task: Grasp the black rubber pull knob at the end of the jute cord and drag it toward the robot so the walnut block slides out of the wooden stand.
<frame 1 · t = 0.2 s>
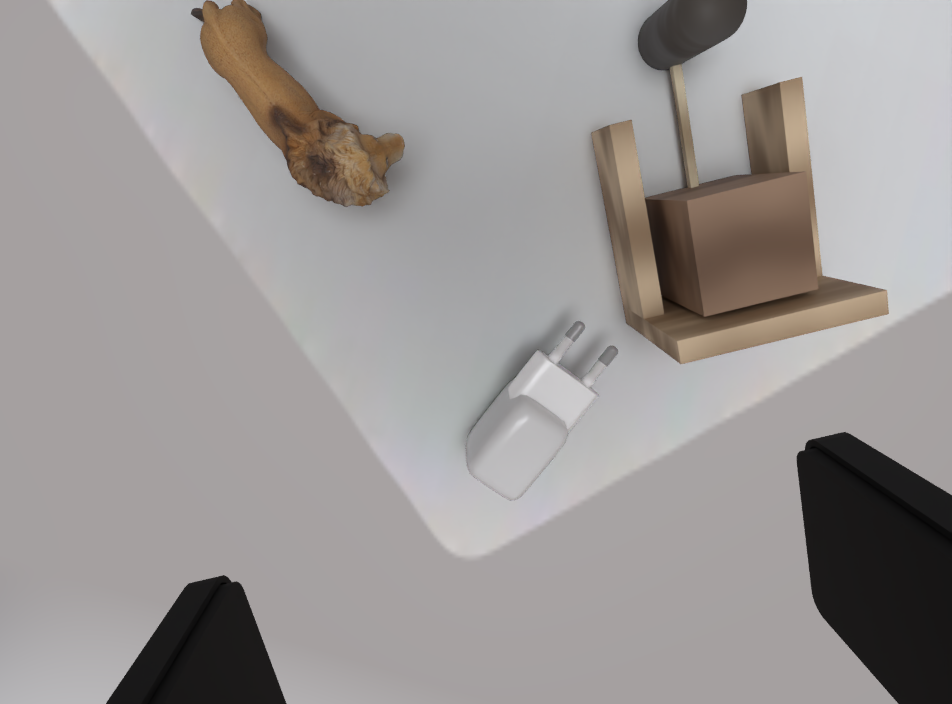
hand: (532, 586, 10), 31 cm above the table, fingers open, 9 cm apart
power adapter: (533, 389, 42), on the table
block: (708, 148, 34), point 4 cm above the table, slide at 0.0 cm
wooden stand: (691, 211, 39), on the table
lion figurine: (311, 110, 37), on the table
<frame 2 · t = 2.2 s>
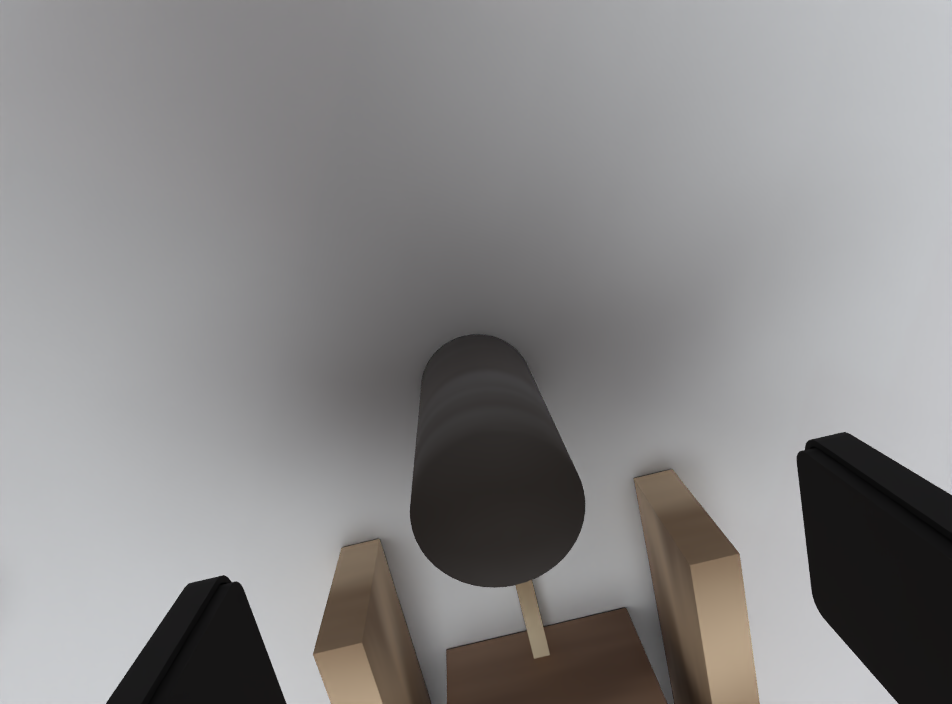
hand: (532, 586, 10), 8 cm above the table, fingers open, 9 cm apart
block: (542, 670, 16), point 4 cm above the table, slide at 0.0 cm
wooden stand: (545, 665, 21), on the table
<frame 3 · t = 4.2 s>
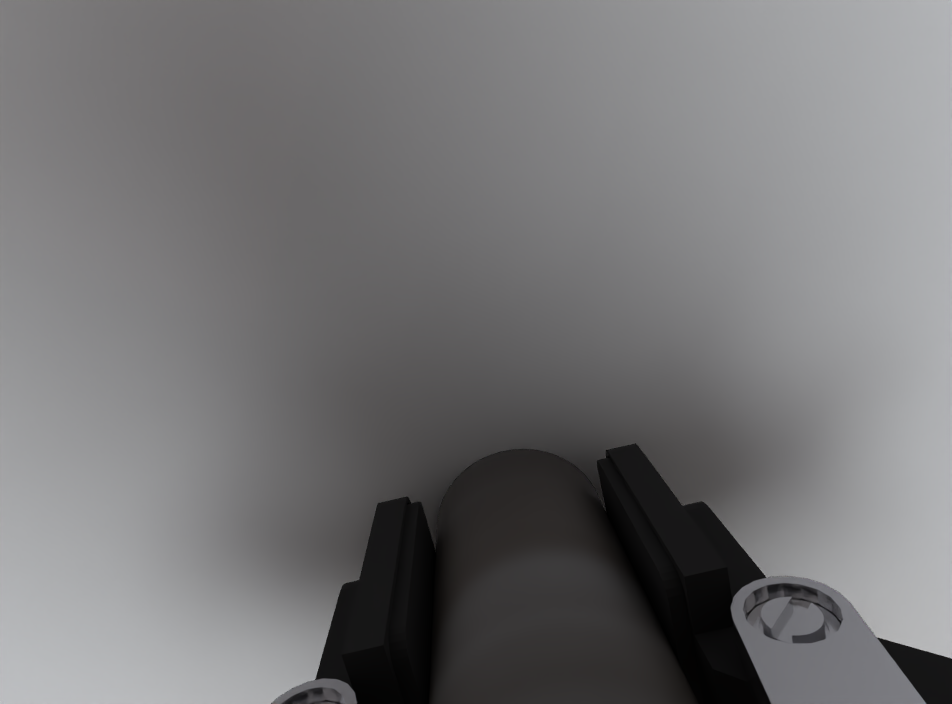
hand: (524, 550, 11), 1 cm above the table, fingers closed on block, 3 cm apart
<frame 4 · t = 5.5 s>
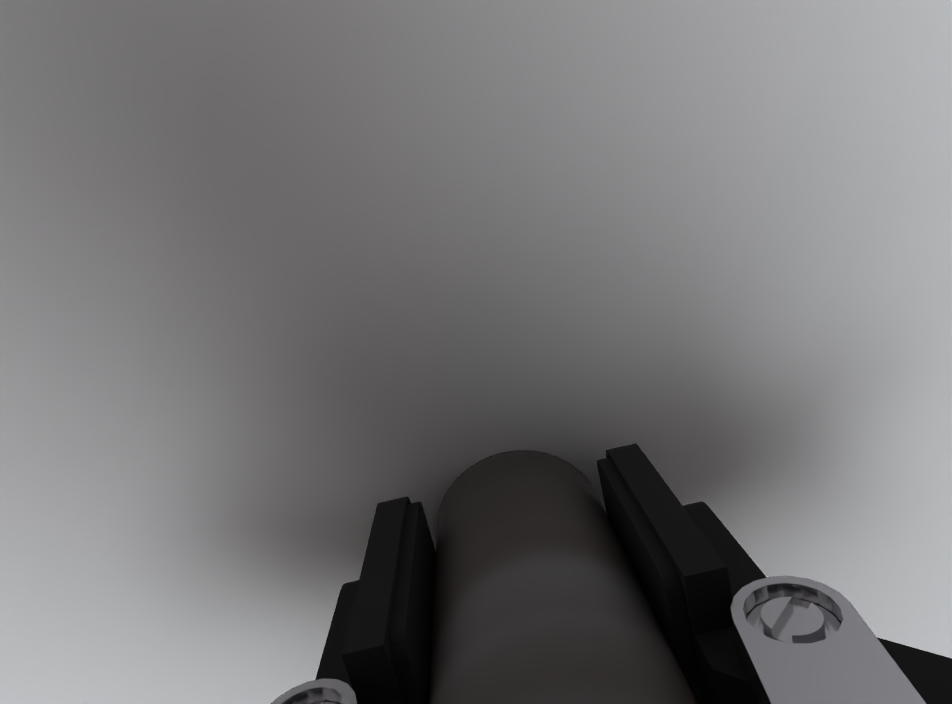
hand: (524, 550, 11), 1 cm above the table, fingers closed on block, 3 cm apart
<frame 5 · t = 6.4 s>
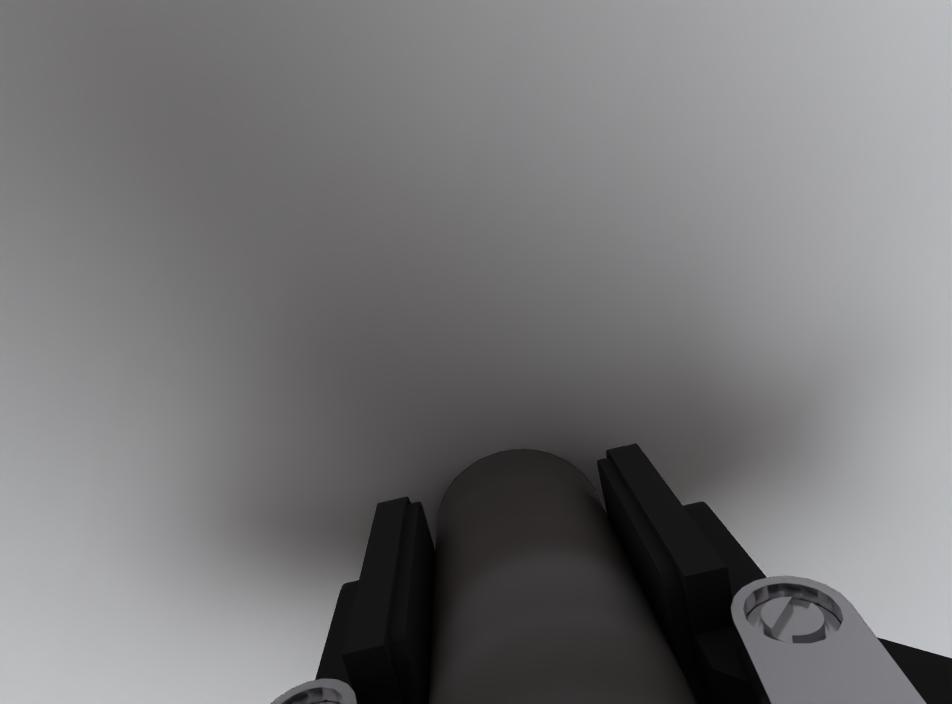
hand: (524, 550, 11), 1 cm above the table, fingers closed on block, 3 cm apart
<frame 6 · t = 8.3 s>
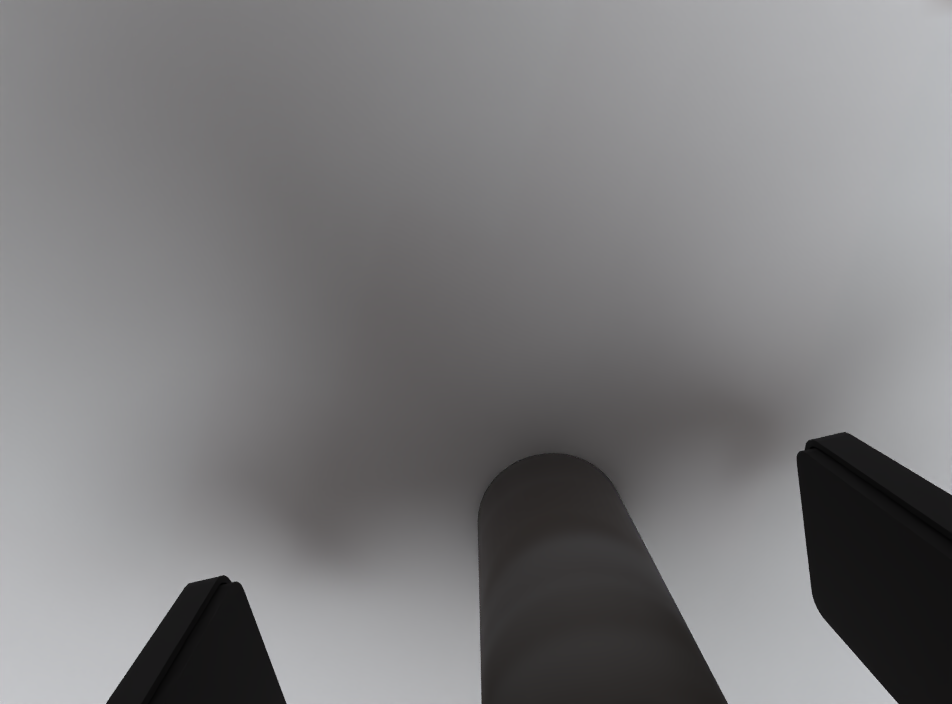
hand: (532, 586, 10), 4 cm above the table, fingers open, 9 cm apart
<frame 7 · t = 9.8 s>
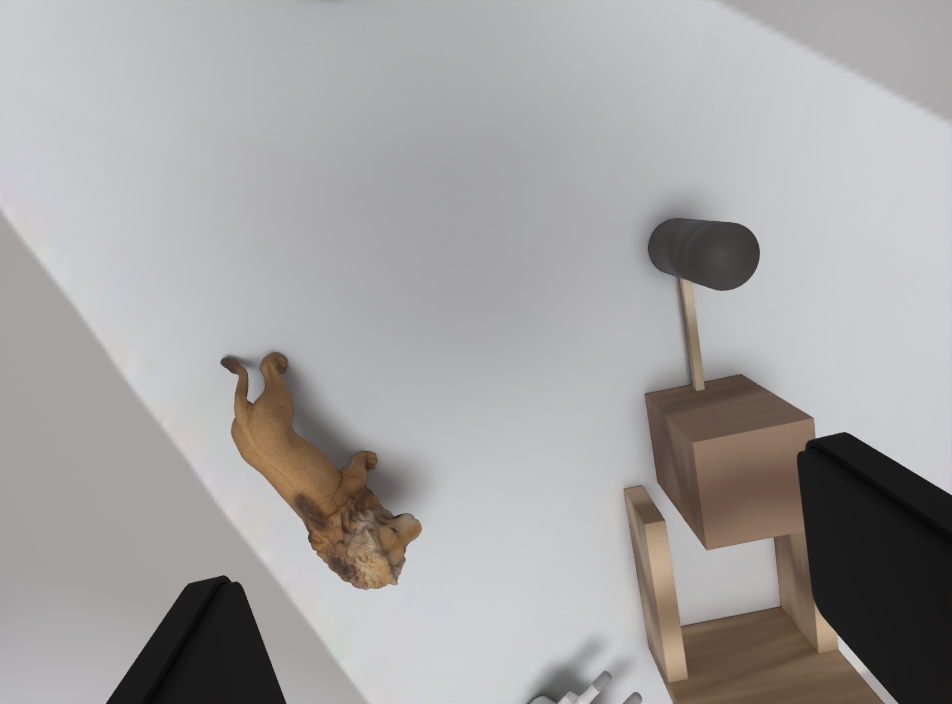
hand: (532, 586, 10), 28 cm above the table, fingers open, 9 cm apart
power adapter: (557, 701, 44), on the table
block: (715, 369, 34), point 4 cm above the table, slide at 10.5 cm
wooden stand: (714, 556, 41), on the table
lion figurine: (331, 437, 39), on the table
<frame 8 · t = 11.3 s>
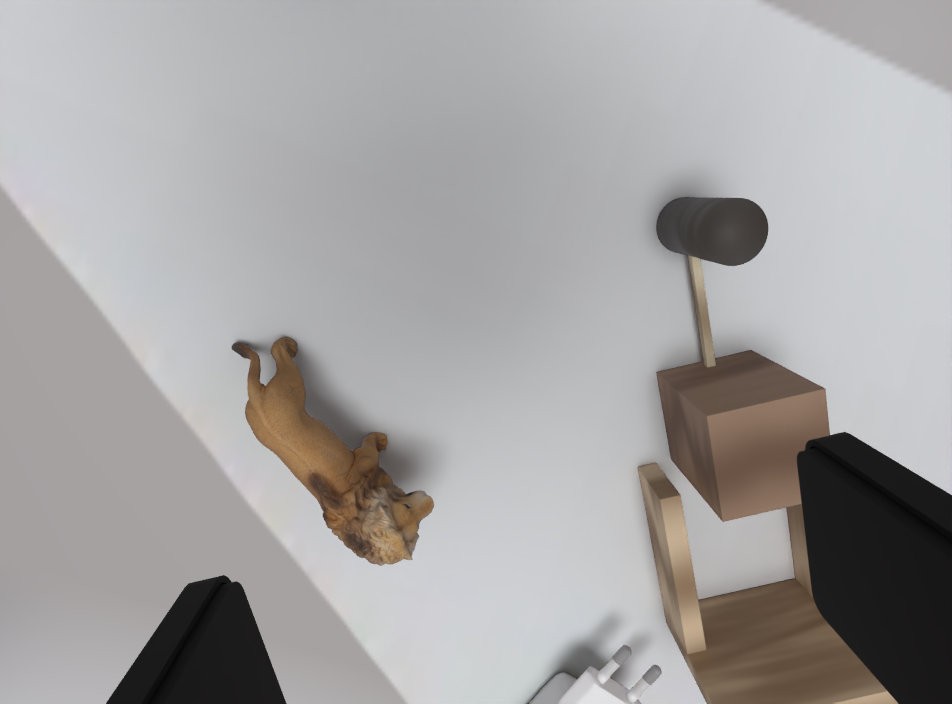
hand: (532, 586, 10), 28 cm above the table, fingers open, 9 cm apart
power adapter: (577, 677, 45), on the table
block: (726, 344, 35), point 4 cm above the table, slide at 10.5 cm
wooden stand: (728, 530, 42), on the table
lion figurine: (342, 419, 40), on the table
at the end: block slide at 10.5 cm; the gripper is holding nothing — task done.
